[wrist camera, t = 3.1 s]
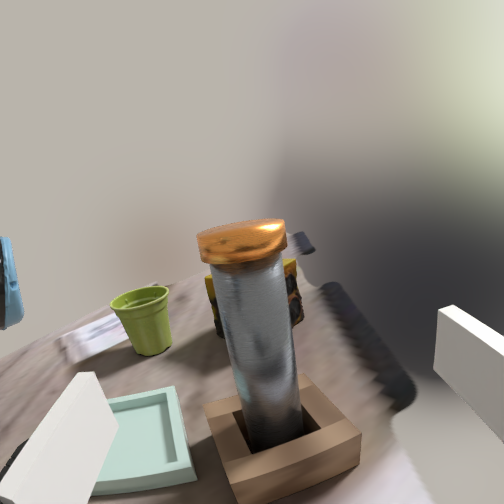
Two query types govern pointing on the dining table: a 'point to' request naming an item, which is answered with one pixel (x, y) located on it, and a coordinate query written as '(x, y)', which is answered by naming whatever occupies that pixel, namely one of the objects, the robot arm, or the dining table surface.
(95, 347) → the dining table surface
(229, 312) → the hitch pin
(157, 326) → the plant pot
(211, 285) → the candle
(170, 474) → the tray
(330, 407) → the socket collar
